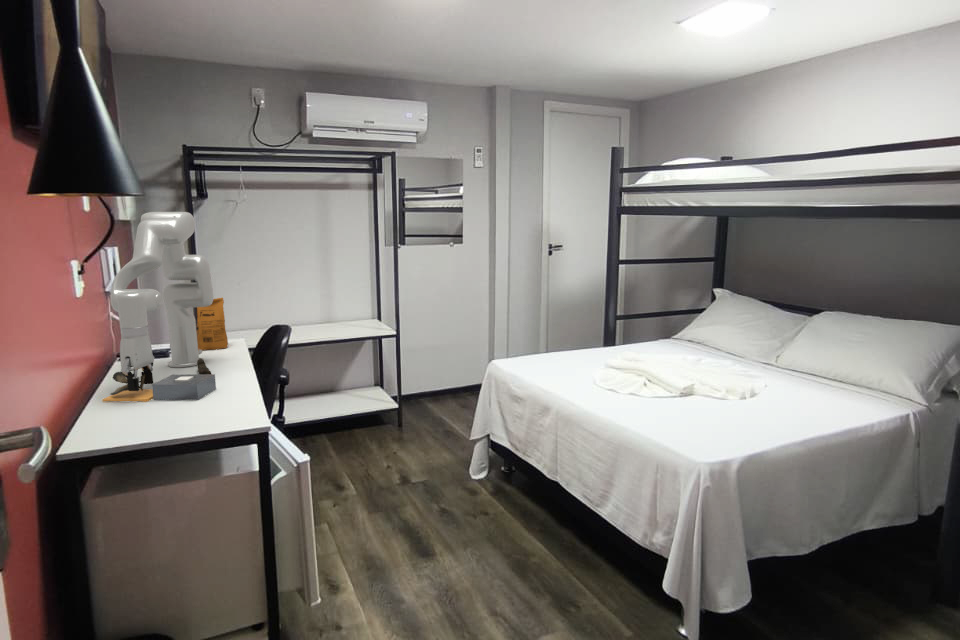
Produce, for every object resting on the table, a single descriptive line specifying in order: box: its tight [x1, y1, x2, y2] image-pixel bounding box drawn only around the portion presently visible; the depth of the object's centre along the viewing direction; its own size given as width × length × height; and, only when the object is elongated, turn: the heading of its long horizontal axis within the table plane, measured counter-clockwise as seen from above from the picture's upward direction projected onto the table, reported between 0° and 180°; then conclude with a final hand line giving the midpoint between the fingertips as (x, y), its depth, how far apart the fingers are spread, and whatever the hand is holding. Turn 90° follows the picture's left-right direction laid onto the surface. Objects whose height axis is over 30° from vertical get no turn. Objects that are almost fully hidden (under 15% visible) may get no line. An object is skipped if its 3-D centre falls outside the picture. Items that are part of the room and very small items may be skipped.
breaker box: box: [151, 373, 217, 401], centre depth 187 cm, size 12×14×5 cm
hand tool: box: [196, 358, 212, 374], centre depth 212 cm, size 19×4×5 cm, turn 27°
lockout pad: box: [102, 388, 153, 403], centre depth 186 cm, size 11×14×1 cm
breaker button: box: [175, 376, 194, 381], centre depth 187 cm, size 4×4×4 cm
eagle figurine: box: [110, 370, 145, 396], centre depth 184 cm, size 8×7×9 cm
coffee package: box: [196, 297, 229, 352], centre depth 255 cm, size 10×12×22 cm
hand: (141, 386), depth 186 cm, fingers closed on eagle figurine, 6 cm apart
